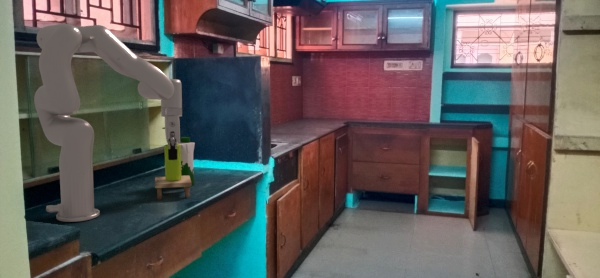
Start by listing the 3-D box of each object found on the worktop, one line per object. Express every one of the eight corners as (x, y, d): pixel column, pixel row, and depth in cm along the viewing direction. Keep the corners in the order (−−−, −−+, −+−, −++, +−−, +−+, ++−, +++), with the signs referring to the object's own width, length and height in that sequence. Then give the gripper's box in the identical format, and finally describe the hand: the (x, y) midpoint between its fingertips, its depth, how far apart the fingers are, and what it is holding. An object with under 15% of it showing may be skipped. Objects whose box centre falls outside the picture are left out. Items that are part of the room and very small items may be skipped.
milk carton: (197, 184, 199) (197, 137, 197) (182, 189, 191) (182, 139, 189) (181, 182, 203) (180, 136, 201) (166, 186, 195) (165, 138, 193)
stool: (155, 200, 174) (155, 184, 173) (155, 191, 186) (155, 176, 185) (191, 198, 177) (191, 182, 177) (189, 190, 190) (189, 175, 189)
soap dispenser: (170, 177, 185) (168, 126, 183) (184, 178, 182) (183, 126, 180) (160, 179, 180) (158, 127, 178) (174, 181, 177) (172, 127, 175)
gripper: (183, 114, 171) (183, 161, 173) (180, 110, 187) (181, 153, 189) (161, 114, 168) (162, 161, 171) (161, 110, 185) (162, 154, 187)
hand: (172, 157), depth 180 cm, fingers open, 9 cm apart
